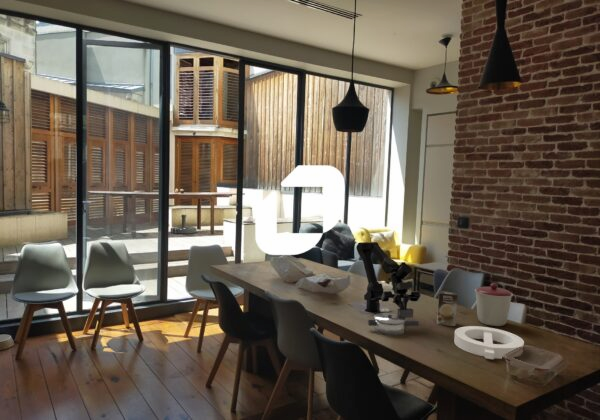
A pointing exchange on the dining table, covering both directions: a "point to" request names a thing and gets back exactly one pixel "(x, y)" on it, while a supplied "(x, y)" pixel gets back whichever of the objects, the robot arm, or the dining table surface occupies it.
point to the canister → (493, 305)
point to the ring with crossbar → (486, 341)
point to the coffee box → (447, 308)
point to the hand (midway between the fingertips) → (404, 311)
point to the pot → (391, 327)
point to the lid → (394, 316)
